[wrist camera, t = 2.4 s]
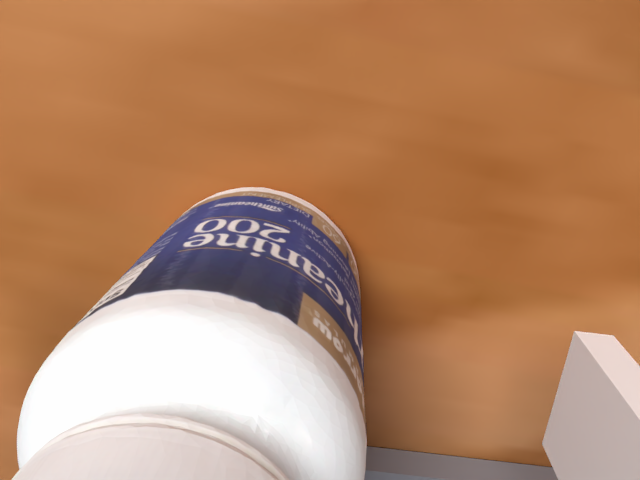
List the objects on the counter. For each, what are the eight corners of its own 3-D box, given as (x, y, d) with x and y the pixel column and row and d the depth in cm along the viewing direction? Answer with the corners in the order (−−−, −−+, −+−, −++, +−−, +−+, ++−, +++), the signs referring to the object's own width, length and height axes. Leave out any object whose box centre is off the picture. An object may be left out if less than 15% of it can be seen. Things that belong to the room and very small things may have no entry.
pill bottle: (401, 258, 15) (484, 617, 6) (287, 398, 16) (209, 851, 7) (226, 139, 14) (-6, 334, 5) (125, 298, 16) (-192, 670, 6)
